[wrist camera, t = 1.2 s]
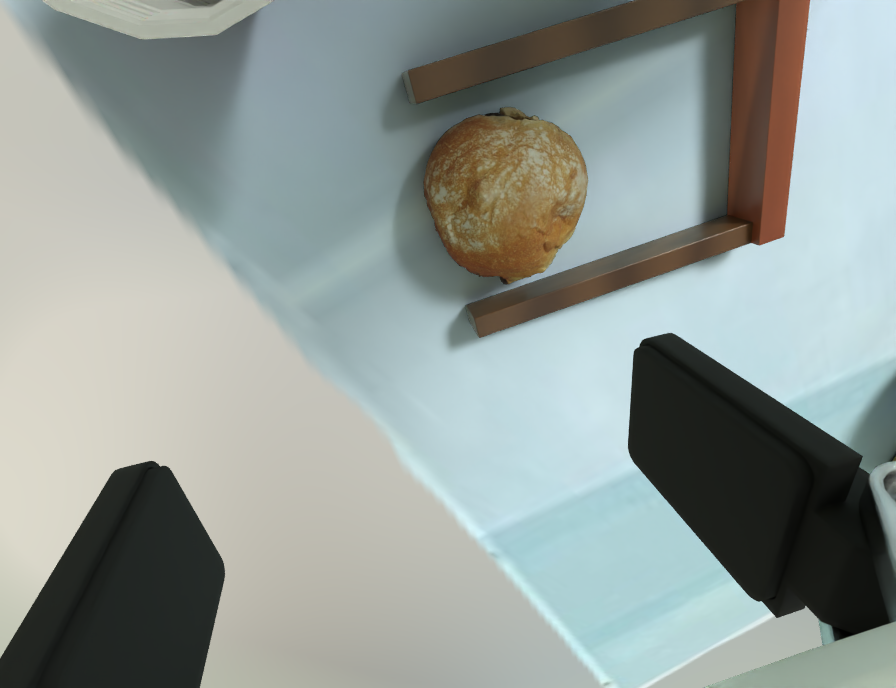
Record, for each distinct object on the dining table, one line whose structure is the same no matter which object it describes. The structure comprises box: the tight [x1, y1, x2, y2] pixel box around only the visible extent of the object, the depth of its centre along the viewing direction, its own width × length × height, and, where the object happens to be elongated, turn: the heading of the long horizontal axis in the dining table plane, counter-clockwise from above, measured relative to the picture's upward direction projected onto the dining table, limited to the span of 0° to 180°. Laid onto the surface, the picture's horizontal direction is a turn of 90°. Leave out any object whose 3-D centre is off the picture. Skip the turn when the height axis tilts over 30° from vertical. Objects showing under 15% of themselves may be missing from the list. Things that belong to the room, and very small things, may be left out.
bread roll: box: [423, 107, 588, 284], centre depth 28 cm, size 10×10×8 cm
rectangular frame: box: [402, 0, 810, 338], centre depth 29 cm, size 23×17×3 cm
